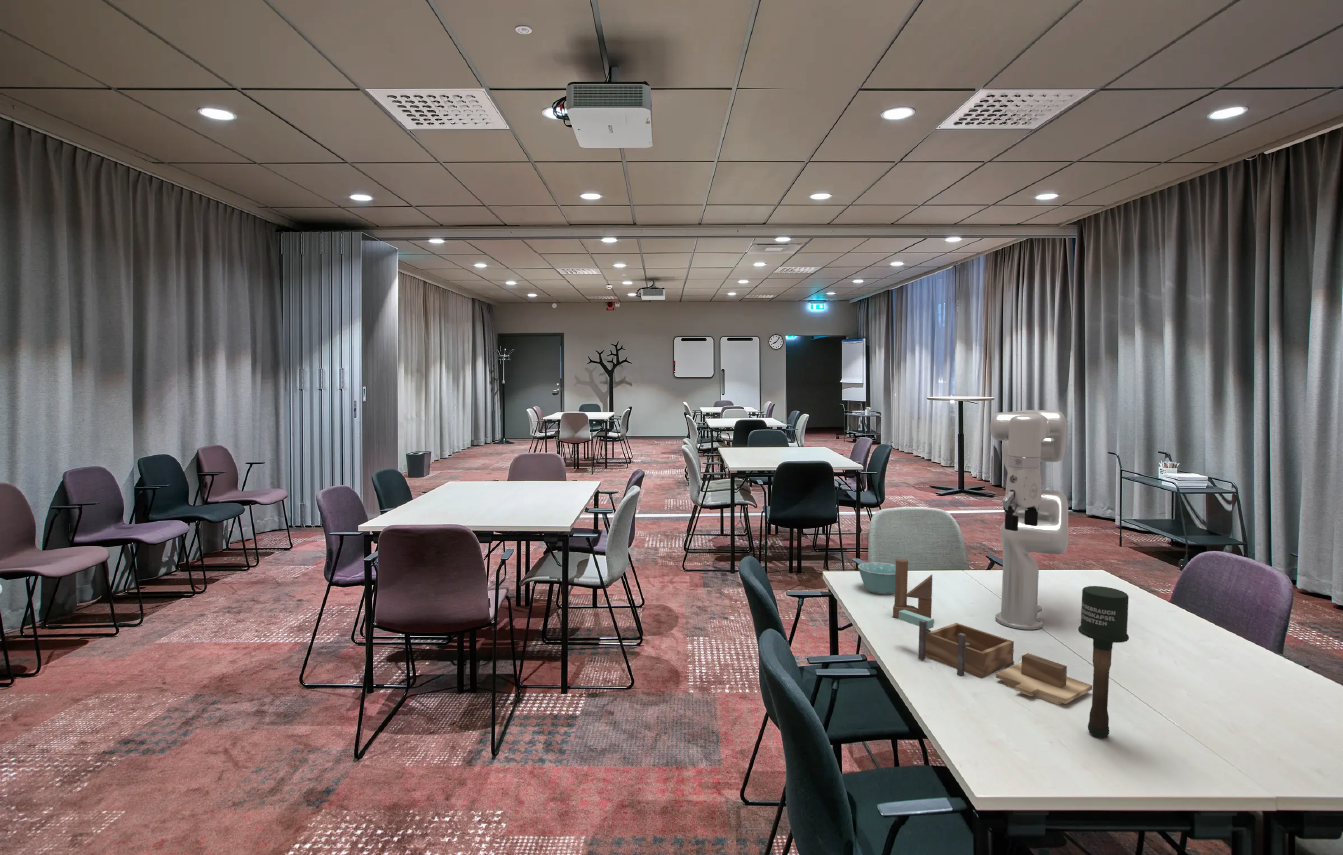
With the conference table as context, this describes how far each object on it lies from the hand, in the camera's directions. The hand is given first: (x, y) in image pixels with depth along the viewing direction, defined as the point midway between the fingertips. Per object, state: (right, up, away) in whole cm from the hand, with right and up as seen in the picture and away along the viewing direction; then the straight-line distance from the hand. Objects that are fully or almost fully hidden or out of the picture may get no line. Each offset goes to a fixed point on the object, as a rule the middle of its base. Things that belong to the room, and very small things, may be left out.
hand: (1021, 527), depth 174 cm
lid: (-5, -36, -18) cm, 40 cm away
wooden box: (-16, -34, -2) cm, 38 cm away
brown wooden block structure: (-18, -33, +29) cm, 47 cm away
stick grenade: (-4, -37, -38) cm, 53 cm away
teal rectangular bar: (-27, -26, +3) cm, 37 cm away
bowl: (-19, -31, +56) cm, 67 cm away
